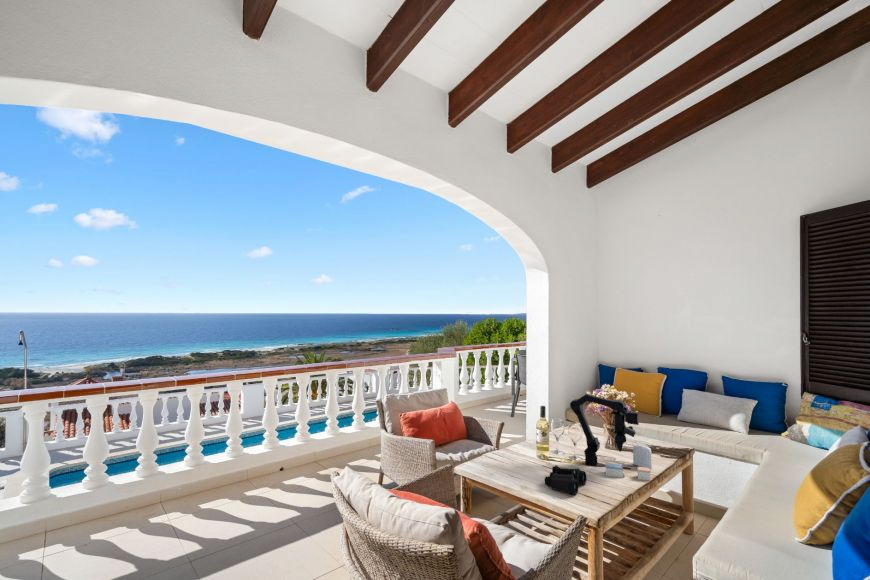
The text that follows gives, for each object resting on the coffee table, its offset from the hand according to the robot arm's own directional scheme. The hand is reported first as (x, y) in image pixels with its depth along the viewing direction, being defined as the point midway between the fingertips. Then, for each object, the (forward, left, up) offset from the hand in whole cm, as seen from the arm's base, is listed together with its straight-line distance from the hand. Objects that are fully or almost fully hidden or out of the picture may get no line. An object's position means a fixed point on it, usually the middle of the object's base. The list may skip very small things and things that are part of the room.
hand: (619, 448), depth 241 cm
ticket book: (-4, -10, -12) cm, 16 cm away
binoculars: (-29, -34, -12) cm, 47 cm away
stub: (+11, -10, -12) cm, 19 cm away
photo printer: (+13, +9, -12) cm, 20 cm away
